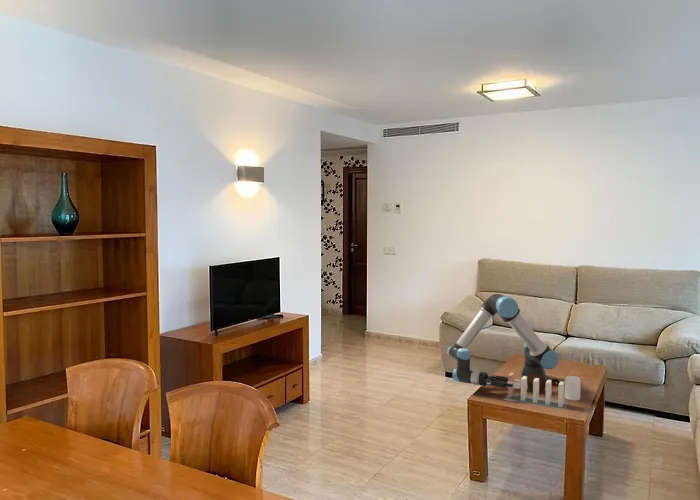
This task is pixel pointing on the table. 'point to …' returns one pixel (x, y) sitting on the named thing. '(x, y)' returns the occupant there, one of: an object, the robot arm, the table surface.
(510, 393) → the domino
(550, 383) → the domino
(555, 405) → the mat
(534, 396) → the domino
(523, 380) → the domino
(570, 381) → the beverage can
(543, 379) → the muffin
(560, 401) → the domino
